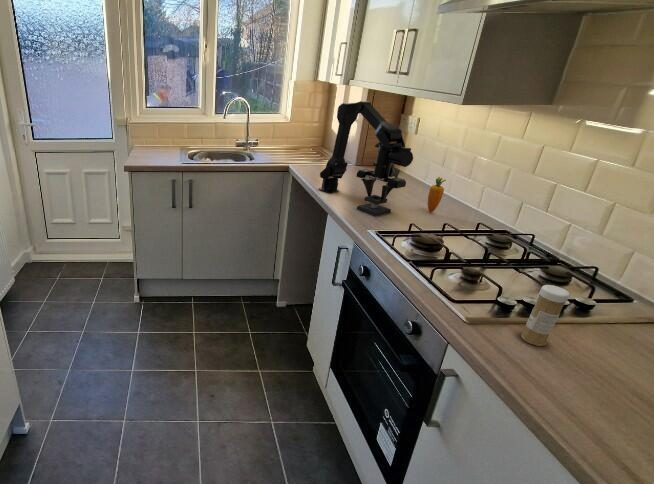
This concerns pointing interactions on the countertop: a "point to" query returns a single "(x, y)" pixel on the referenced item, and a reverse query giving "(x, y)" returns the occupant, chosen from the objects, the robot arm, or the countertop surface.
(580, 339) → the countertop surface
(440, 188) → the carrot
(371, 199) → the small pad
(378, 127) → the robot arm
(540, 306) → the sprinkles bottle
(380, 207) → the base pad
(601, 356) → the countertop surface
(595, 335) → the countertop surface
